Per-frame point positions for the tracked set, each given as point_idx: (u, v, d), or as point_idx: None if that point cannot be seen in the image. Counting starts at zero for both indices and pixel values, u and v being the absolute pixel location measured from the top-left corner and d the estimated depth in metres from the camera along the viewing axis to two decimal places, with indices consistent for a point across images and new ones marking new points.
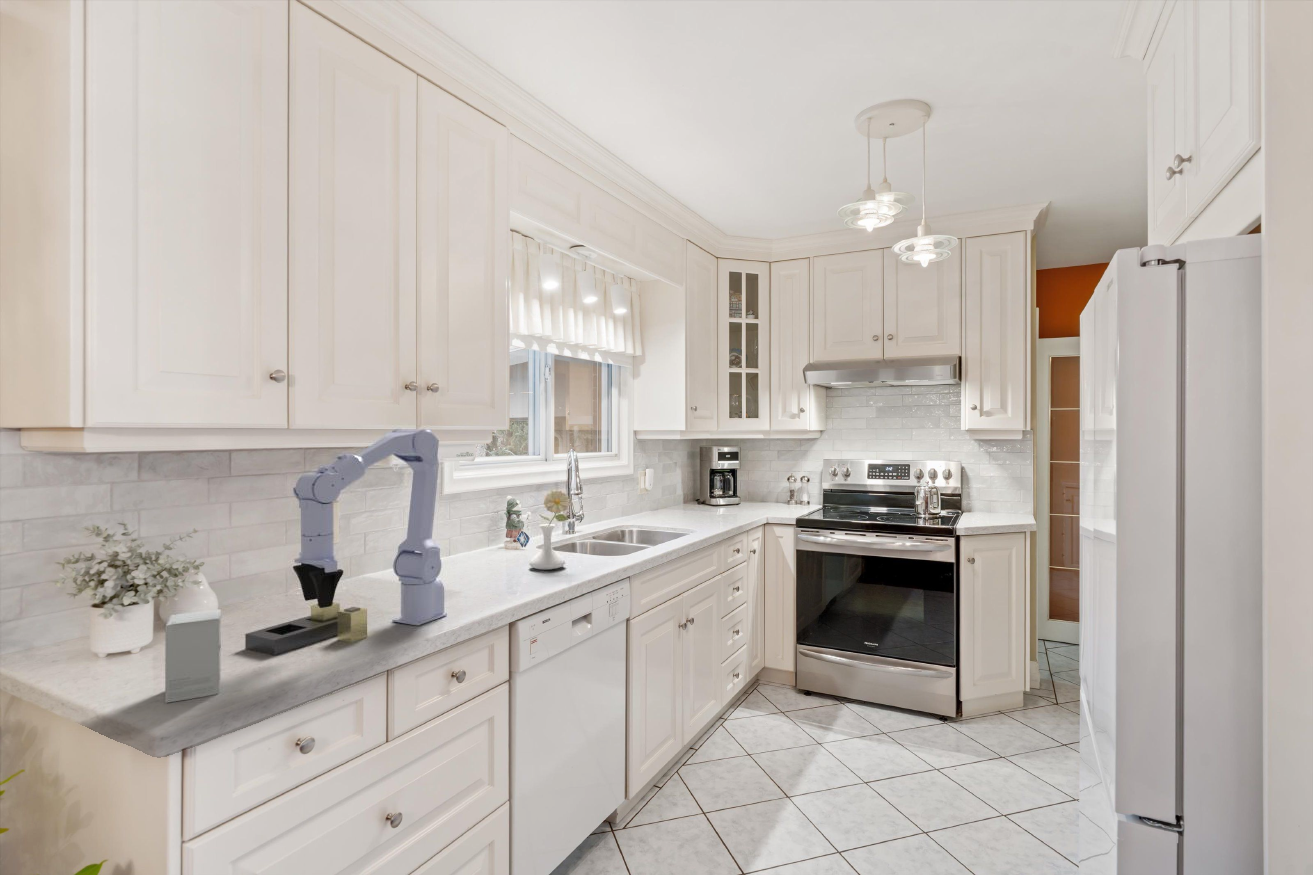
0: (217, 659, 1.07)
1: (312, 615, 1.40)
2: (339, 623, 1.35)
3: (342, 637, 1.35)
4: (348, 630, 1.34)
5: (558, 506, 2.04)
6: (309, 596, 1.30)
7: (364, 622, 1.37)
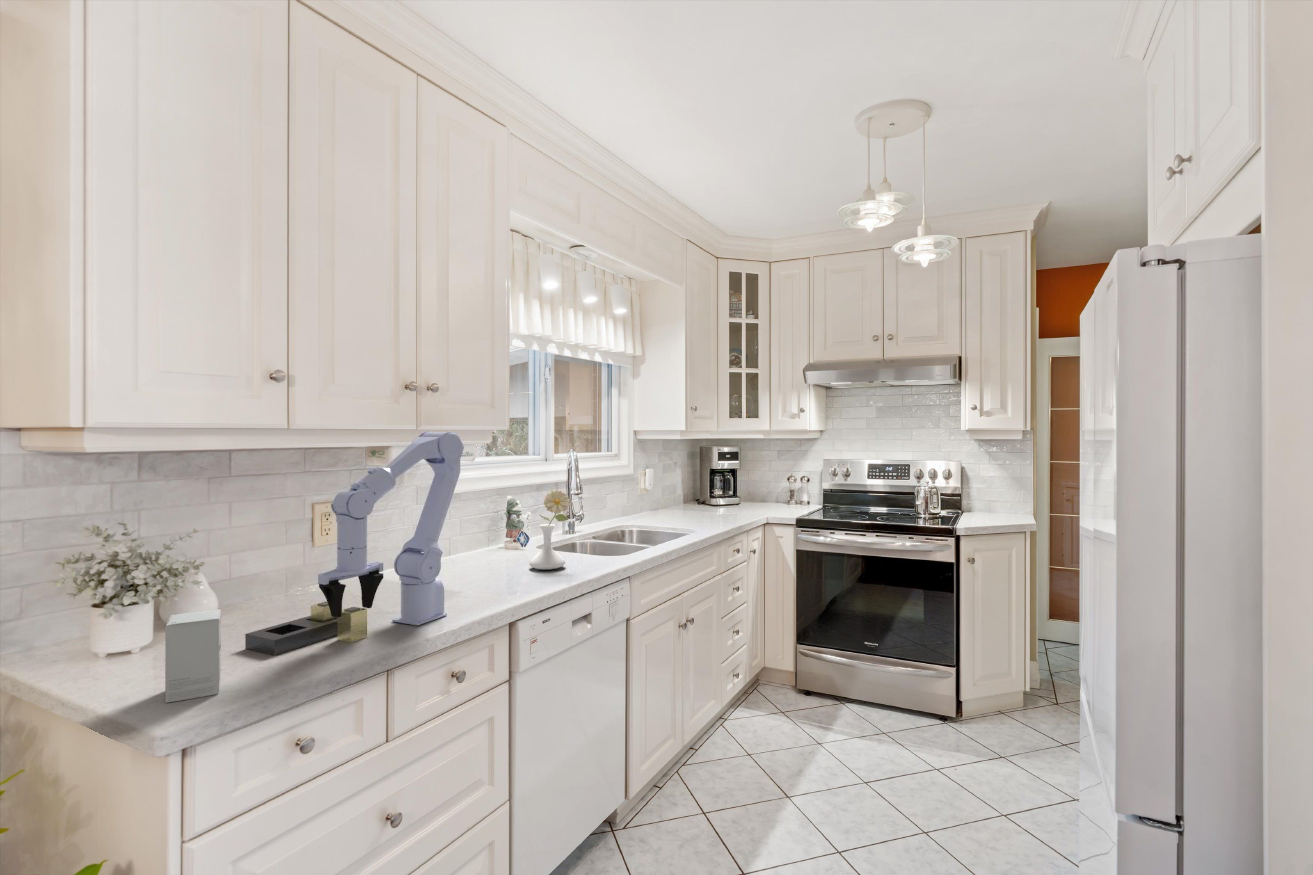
0: (217, 659, 1.07)
1: (312, 615, 1.40)
2: (339, 623, 1.35)
3: (342, 637, 1.35)
4: (348, 630, 1.34)
5: (558, 506, 2.04)
6: (364, 604, 1.40)
7: (364, 622, 1.37)
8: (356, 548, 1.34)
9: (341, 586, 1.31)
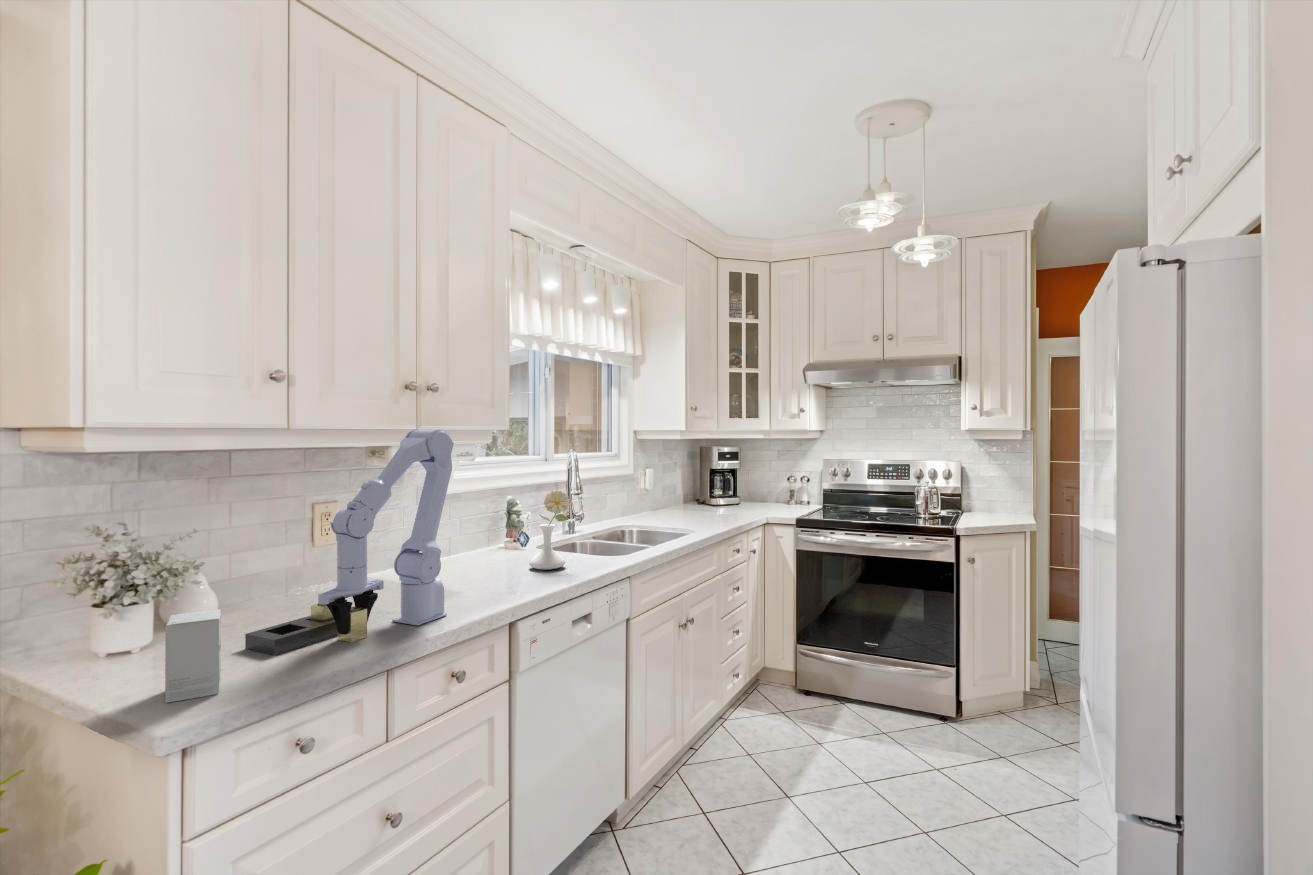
0: (217, 659, 1.07)
1: (312, 615, 1.40)
2: None
3: (342, 637, 1.35)
4: (348, 630, 1.34)
5: (558, 506, 2.04)
6: None
7: (364, 622, 1.37)
8: (356, 567, 1.34)
9: (348, 604, 1.33)
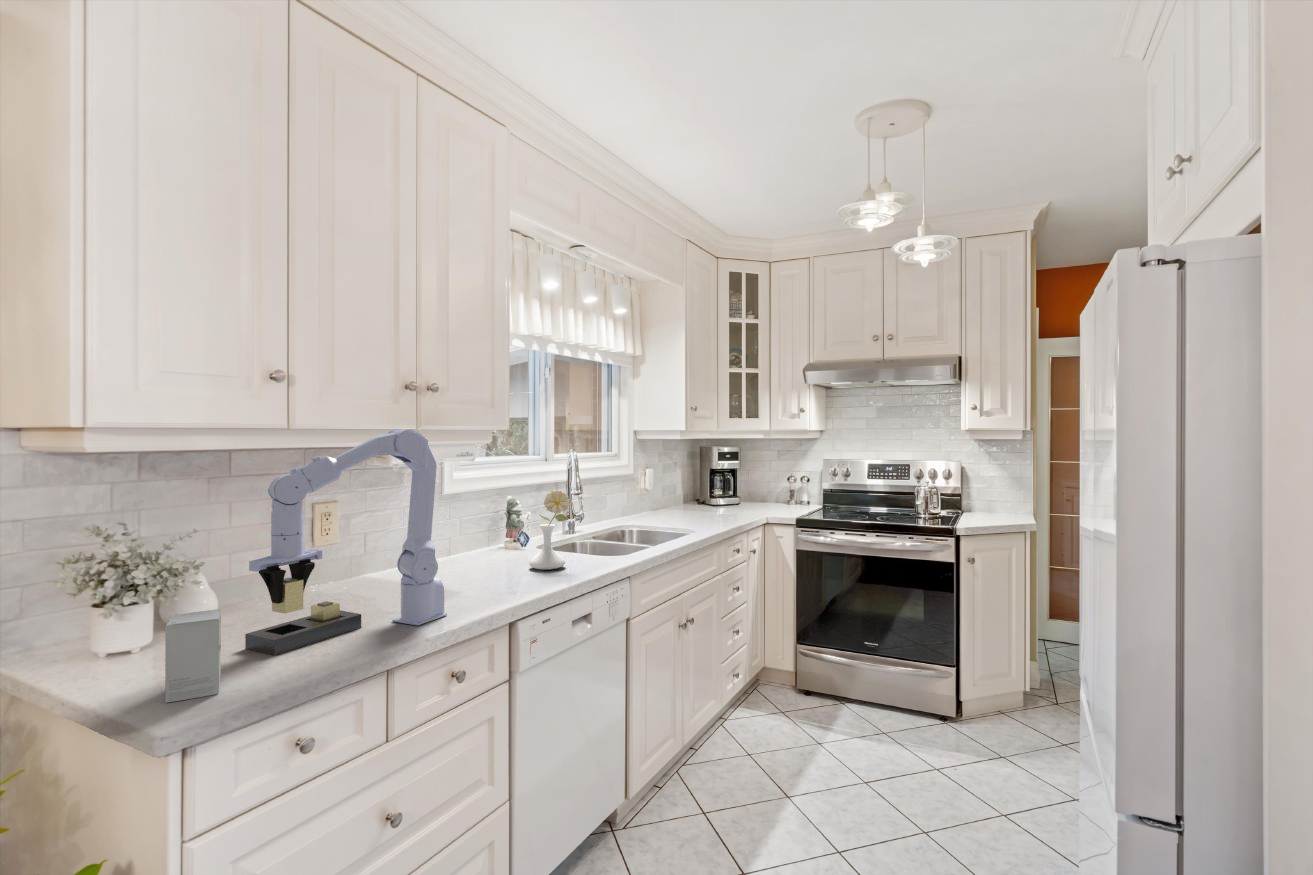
0: (217, 659, 1.07)
1: (312, 615, 1.40)
2: None
3: (276, 608, 1.31)
4: (283, 601, 1.30)
5: (558, 506, 2.04)
6: None
7: (300, 593, 1.33)
8: (290, 534, 1.31)
9: (281, 572, 1.29)
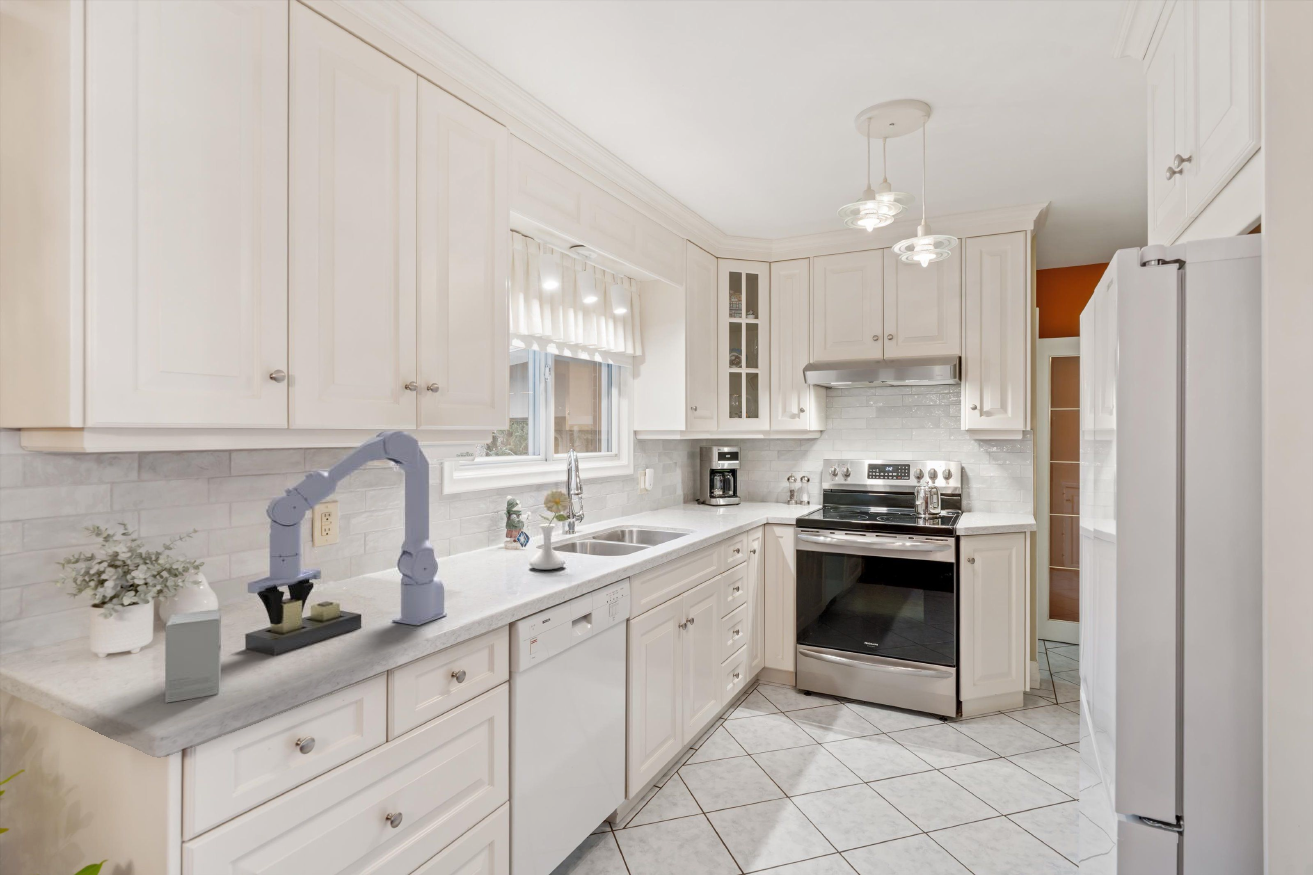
0: (217, 659, 1.07)
1: (312, 615, 1.40)
2: None
3: (275, 629, 1.31)
4: (281, 622, 1.30)
5: (558, 506, 2.04)
6: None
7: (298, 614, 1.33)
8: (289, 555, 1.31)
9: (279, 593, 1.29)
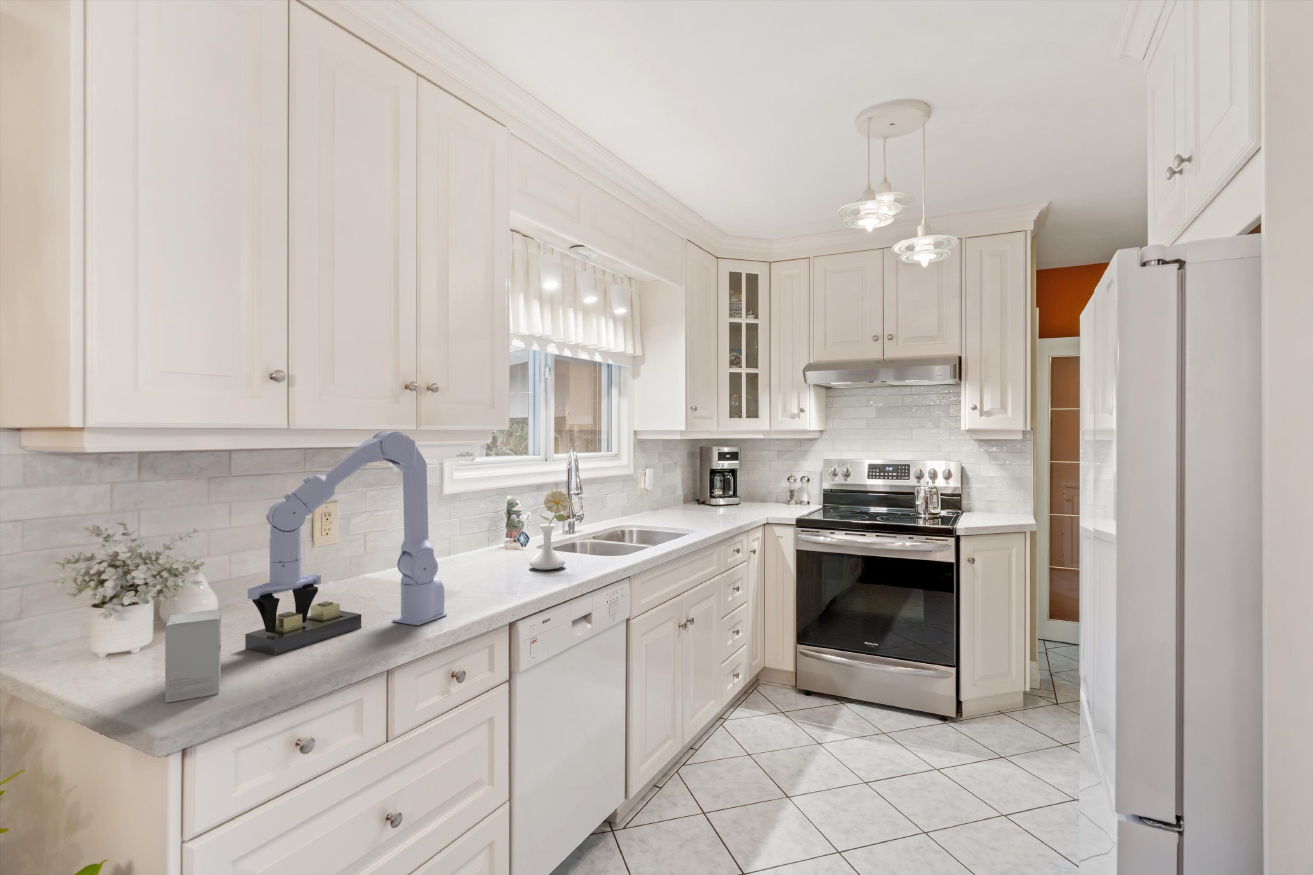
0: (217, 659, 1.07)
1: (312, 615, 1.40)
2: None
3: None
4: None
5: (558, 506, 2.04)
6: None
7: (299, 627, 1.33)
8: (289, 561, 1.31)
9: (274, 600, 1.28)
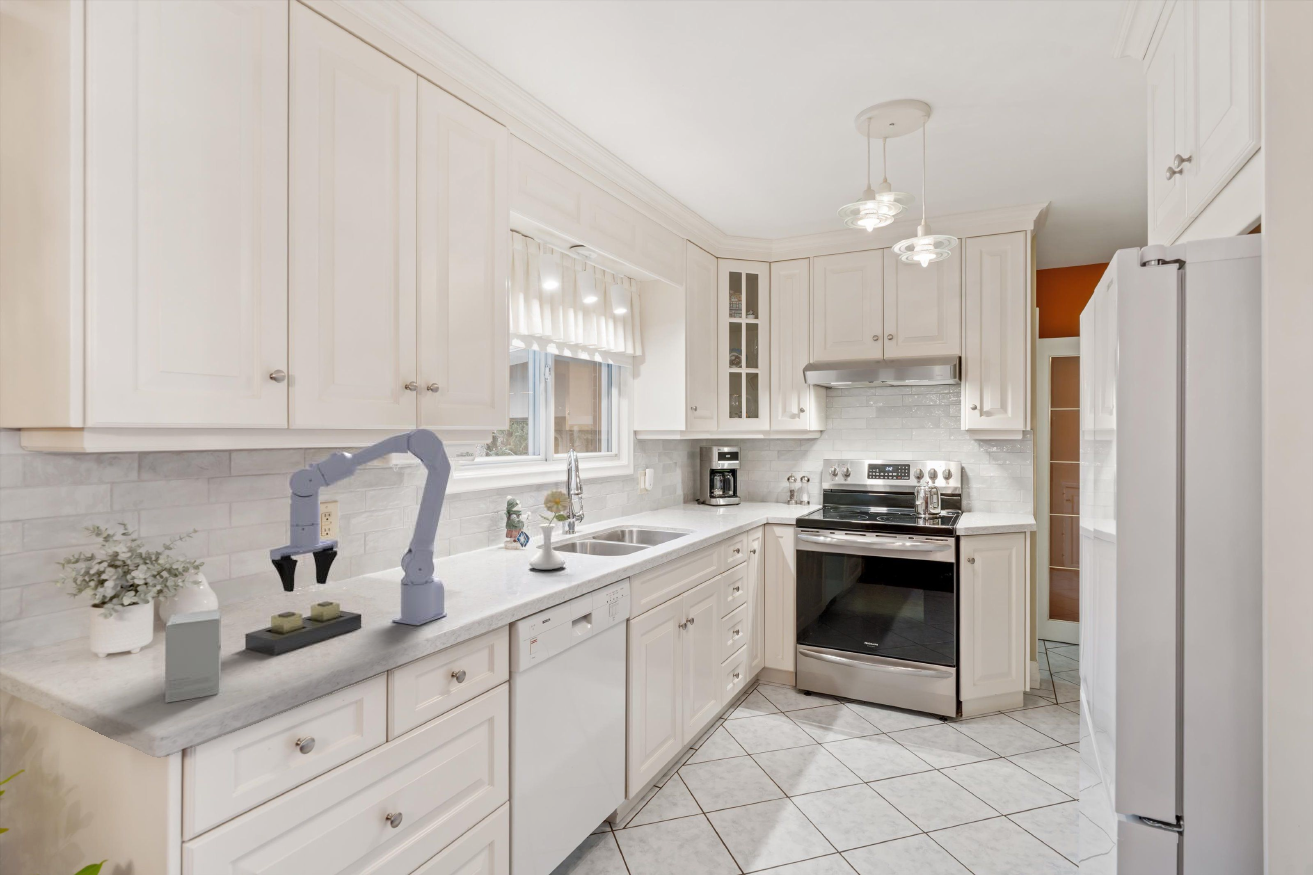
0: (217, 659, 1.07)
1: (312, 615, 1.40)
2: (272, 628, 1.32)
3: None
4: None
5: (558, 506, 2.04)
6: (318, 580, 1.43)
7: (299, 627, 1.33)
8: (308, 525, 1.38)
9: (293, 561, 1.34)
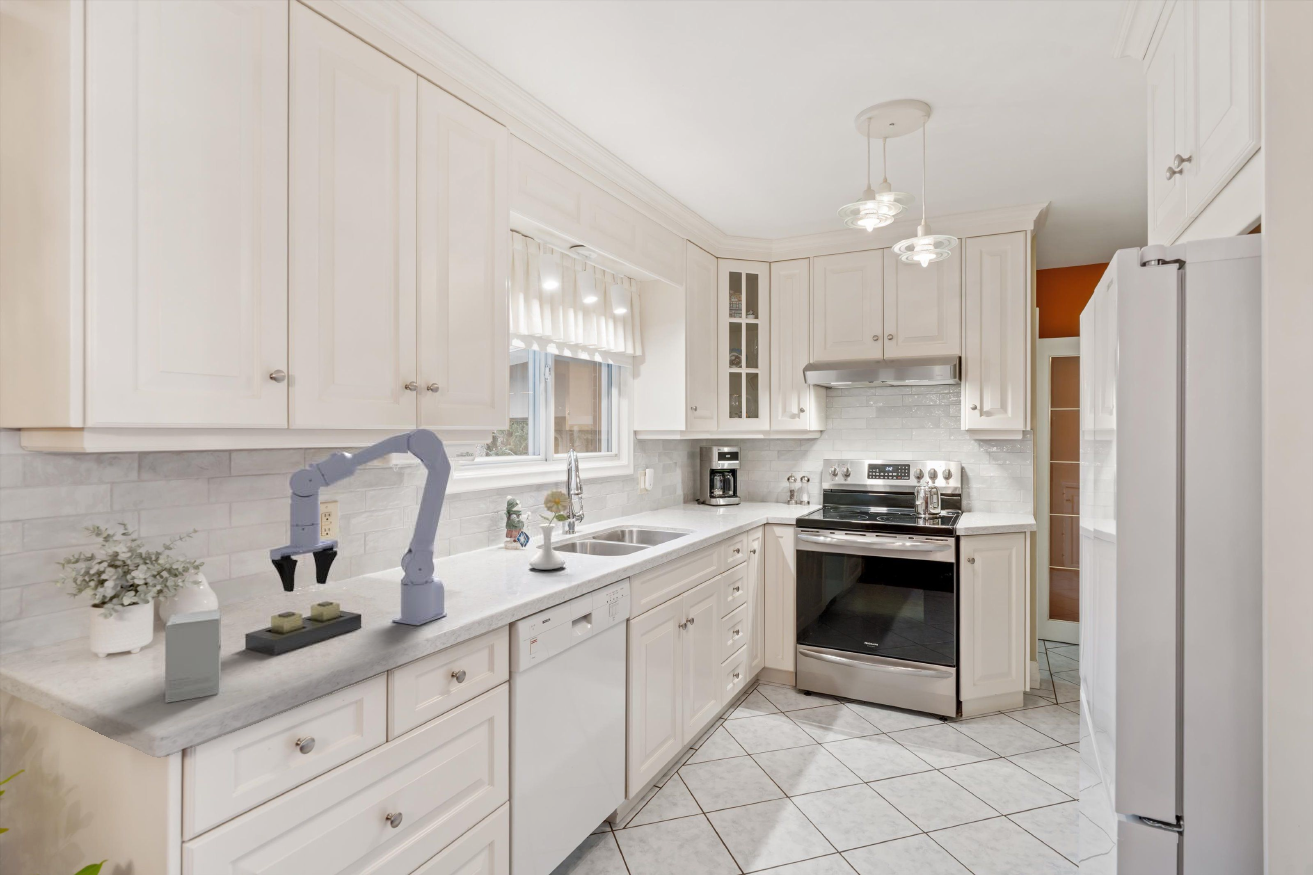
0: (217, 659, 1.07)
1: (312, 615, 1.40)
2: (272, 628, 1.32)
3: None
4: None
5: (558, 506, 2.04)
6: (318, 580, 1.43)
7: (299, 627, 1.33)
8: (308, 525, 1.38)
9: (293, 561, 1.34)
